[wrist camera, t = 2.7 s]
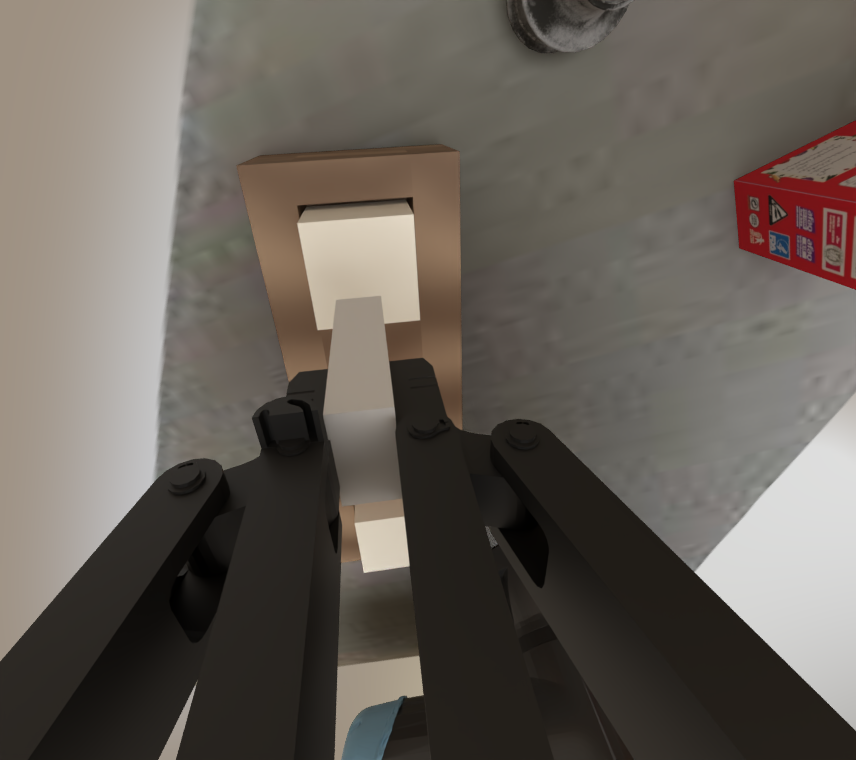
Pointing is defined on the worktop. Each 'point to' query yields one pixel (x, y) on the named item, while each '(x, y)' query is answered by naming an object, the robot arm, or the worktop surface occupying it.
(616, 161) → the worktop surface
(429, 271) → the mount
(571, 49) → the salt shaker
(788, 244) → the food packaging
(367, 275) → the near button
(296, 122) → the worktop surface
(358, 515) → the far button
